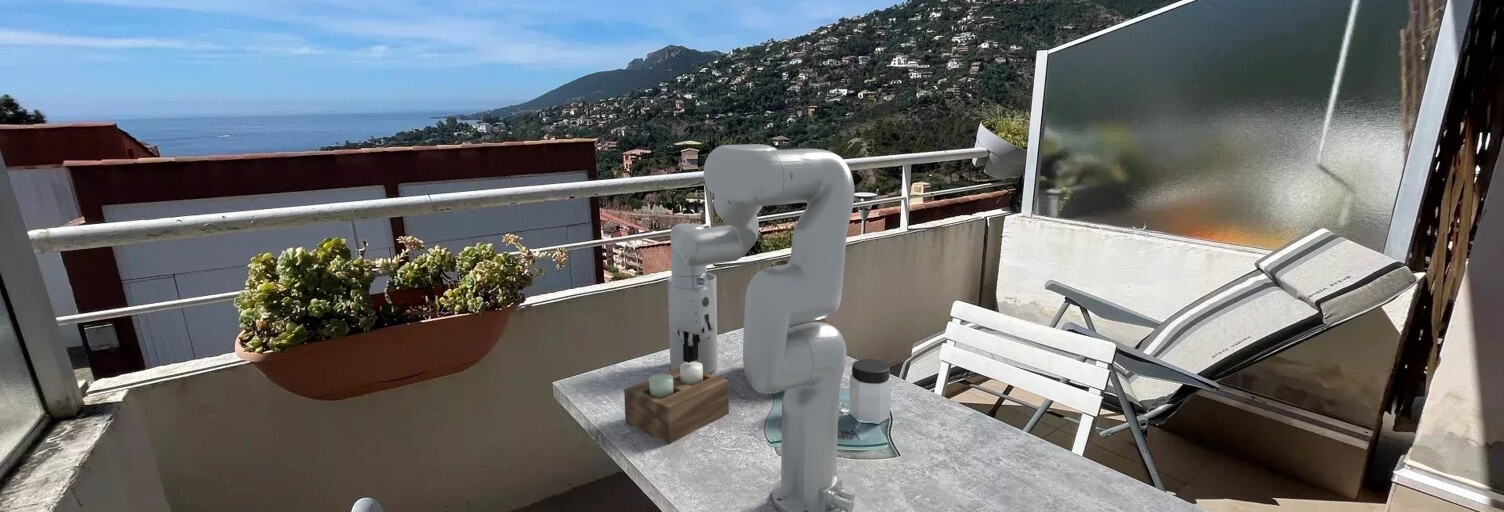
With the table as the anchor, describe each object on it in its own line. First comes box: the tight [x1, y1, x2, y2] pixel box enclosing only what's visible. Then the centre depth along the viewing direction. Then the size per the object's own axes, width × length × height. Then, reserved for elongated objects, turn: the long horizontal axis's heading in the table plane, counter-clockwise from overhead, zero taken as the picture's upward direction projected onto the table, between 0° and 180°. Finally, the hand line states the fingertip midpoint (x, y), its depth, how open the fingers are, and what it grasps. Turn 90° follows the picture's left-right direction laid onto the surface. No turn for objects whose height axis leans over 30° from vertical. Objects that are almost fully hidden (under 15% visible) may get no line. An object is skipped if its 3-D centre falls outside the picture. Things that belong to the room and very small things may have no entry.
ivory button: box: [680, 362, 703, 386], centre depth 143 cm, size 5×5×4 cm
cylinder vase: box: [667, 272, 719, 374], centre depth 167 cm, size 12×12×25 cm
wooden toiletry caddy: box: [623, 367, 730, 445], centre depth 140 cm, size 14×18×8 cm
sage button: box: [648, 372, 674, 400], centre depth 136 cm, size 5×5×4 cm
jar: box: [848, 358, 892, 423], centre depth 141 cm, size 9×8×12 cm
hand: (690, 360), depth 142 cm, fingers closed
